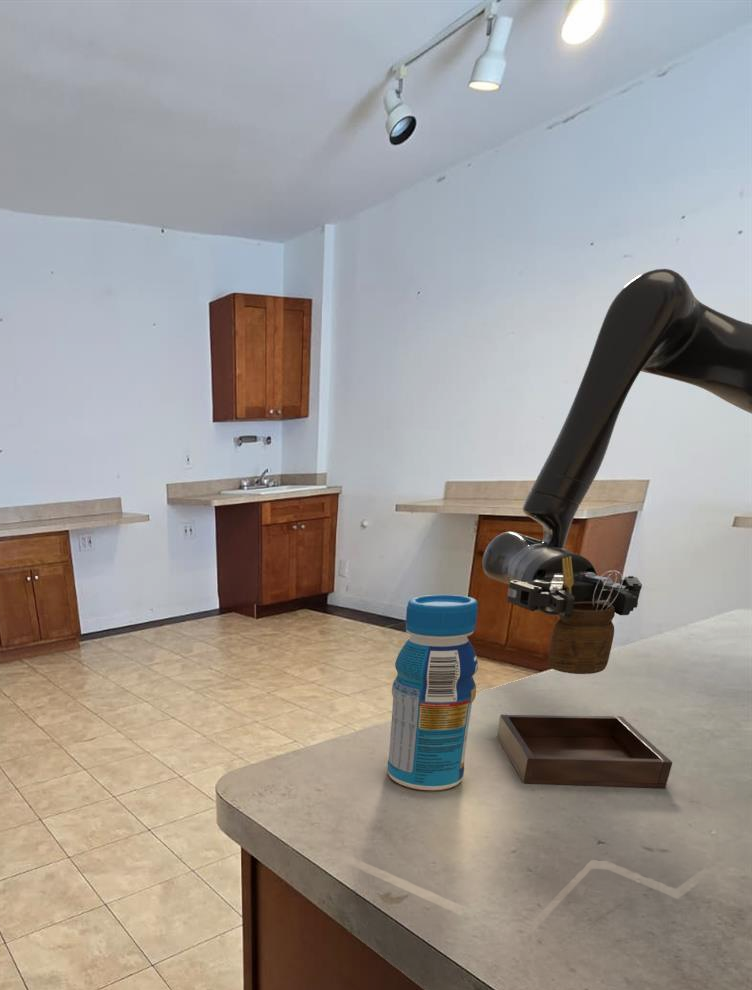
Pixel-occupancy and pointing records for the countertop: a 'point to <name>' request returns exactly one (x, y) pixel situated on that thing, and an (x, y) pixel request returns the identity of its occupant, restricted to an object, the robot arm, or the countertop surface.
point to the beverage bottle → (433, 693)
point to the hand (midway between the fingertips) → (598, 606)
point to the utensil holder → (582, 633)
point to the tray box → (581, 751)
